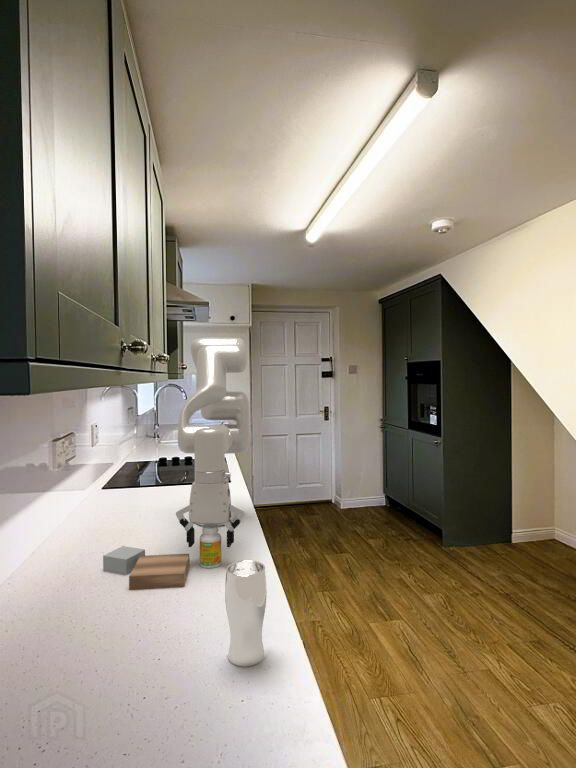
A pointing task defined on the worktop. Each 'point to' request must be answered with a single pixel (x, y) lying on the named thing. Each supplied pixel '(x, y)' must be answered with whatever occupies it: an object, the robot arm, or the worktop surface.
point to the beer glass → (245, 611)
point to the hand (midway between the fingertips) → (210, 545)
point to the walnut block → (159, 571)
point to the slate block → (122, 560)
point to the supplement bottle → (210, 546)
